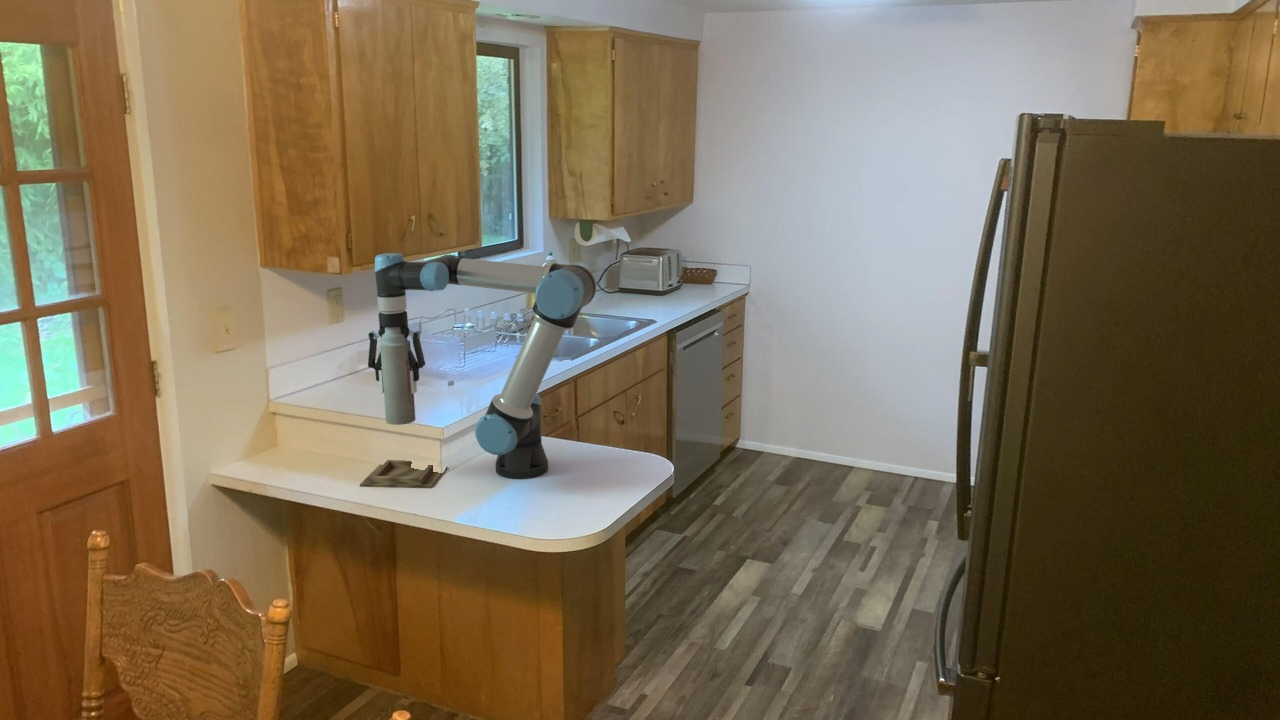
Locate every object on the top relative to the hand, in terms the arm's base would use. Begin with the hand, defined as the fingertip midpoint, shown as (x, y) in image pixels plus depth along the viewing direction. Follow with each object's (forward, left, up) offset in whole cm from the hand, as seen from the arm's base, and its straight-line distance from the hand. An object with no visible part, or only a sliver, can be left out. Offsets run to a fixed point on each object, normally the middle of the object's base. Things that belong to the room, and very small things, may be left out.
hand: (398, 392), depth 254 cm
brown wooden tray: (0, 0, -25) cm, 25 cm away
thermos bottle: (0, 0, -8) cm, 8 cm away
